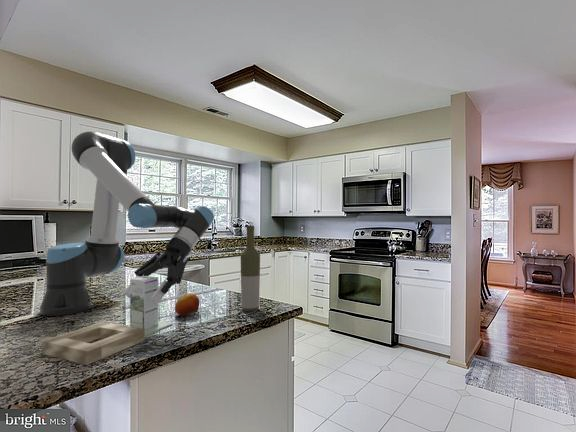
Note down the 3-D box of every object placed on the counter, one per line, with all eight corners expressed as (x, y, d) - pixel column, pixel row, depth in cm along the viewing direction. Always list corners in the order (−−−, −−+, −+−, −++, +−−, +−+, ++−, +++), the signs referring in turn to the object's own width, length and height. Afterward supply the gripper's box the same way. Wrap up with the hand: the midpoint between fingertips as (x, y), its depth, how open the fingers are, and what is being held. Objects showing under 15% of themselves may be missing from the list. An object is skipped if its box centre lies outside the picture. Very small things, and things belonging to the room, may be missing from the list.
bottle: (242, 307, 120) (242, 225, 121) (261, 307, 120) (261, 225, 121) (238, 312, 113) (238, 225, 114) (258, 312, 113) (258, 225, 114)
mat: (115, 331, 94) (115, 329, 94) (145, 320, 104) (145, 319, 104) (143, 336, 90) (143, 334, 90) (172, 324, 100) (172, 323, 100)
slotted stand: (41, 353, 79) (42, 340, 79) (102, 332, 93) (102, 321, 93) (86, 365, 72) (87, 351, 72) (144, 340, 87) (144, 329, 87)
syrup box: (159, 324, 99) (159, 276, 99) (143, 330, 93) (144, 279, 94) (144, 322, 101) (145, 275, 101) (129, 328, 96) (129, 278, 96)
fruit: (197, 314, 106) (186, 292, 107) (178, 325, 108) (167, 304, 109) (208, 307, 114) (197, 287, 115) (190, 318, 116) (180, 298, 117)
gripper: (214, 253, 104) (174, 312, 91) (165, 249, 118) (124, 300, 105) (201, 237, 99) (157, 296, 87) (151, 235, 113) (107, 286, 100)
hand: (139, 298), depth 96 cm, fingers open, 13 cm apart
